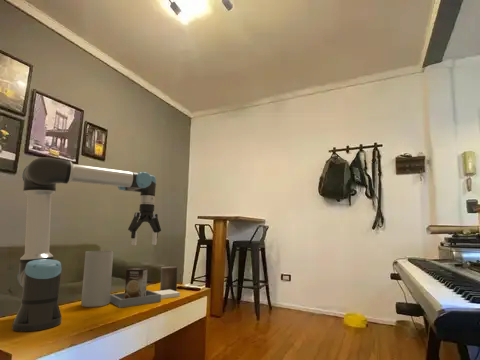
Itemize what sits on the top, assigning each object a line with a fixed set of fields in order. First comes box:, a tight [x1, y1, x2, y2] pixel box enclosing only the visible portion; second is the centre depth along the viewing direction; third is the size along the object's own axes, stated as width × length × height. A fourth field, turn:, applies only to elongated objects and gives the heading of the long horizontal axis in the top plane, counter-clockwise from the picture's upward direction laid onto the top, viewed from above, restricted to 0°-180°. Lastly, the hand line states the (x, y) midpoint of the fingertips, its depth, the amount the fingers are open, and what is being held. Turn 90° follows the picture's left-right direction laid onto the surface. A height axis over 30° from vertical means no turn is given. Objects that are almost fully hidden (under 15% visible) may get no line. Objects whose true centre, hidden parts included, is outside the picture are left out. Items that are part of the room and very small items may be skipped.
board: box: [152, 290, 181, 300], centre depth 167 cm, size 12×12×2 cm
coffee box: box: [124, 267, 149, 299], centre depth 154 cm, size 9×6×16 cm
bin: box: [109, 289, 162, 309], centre depth 153 cm, size 20×16×4 cm
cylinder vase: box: [80, 250, 114, 308], centre depth 149 cm, size 12×12×25 cm
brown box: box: [159, 264, 178, 291], centre depth 185 cm, size 10×10×15 cm
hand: (144, 245), depth 158 cm, fingers open, 13 cm apart
